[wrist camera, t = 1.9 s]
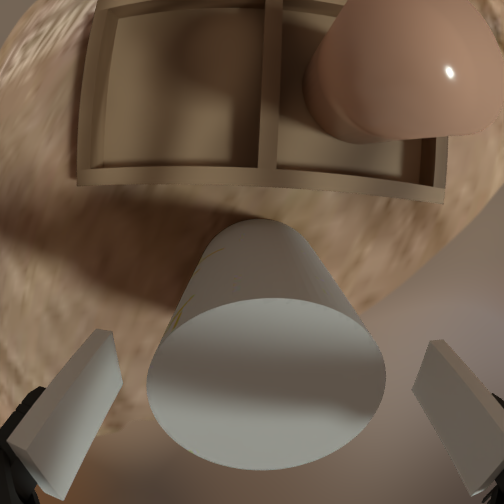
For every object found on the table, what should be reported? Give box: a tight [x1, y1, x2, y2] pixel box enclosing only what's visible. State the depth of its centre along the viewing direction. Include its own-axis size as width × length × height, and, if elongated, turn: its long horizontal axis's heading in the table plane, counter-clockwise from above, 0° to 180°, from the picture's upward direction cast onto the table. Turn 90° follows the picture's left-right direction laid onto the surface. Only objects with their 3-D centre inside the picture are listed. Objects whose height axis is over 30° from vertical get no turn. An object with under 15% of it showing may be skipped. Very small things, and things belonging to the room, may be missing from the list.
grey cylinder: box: [147, 219, 386, 470], centre depth 15 cm, size 8×8×12 cm
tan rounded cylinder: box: [302, 0, 504, 145], centre depth 12 cm, size 7×7×10 cm
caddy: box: [77, 0, 448, 204], centre depth 16 cm, size 23×13×2 cm, turn 87°
